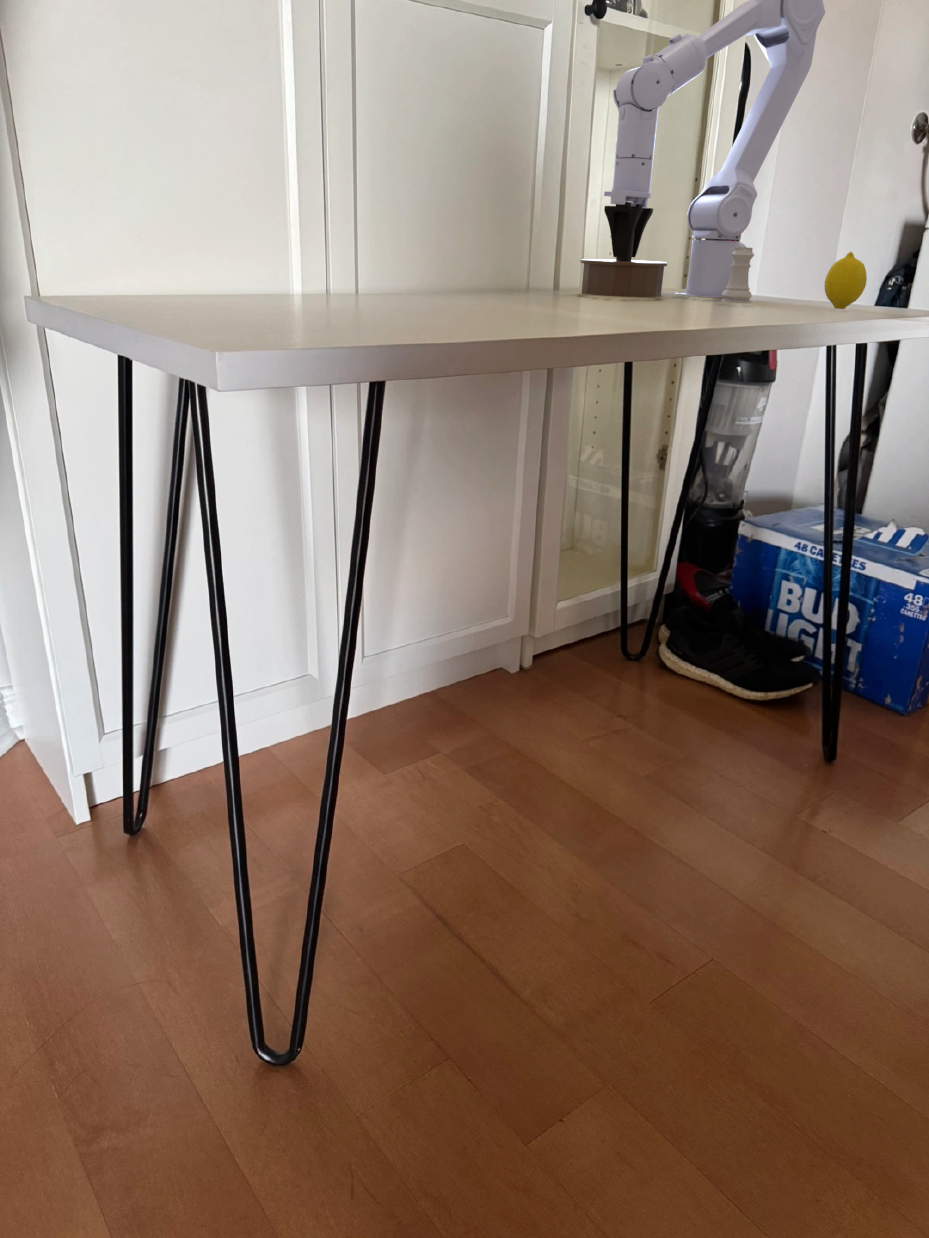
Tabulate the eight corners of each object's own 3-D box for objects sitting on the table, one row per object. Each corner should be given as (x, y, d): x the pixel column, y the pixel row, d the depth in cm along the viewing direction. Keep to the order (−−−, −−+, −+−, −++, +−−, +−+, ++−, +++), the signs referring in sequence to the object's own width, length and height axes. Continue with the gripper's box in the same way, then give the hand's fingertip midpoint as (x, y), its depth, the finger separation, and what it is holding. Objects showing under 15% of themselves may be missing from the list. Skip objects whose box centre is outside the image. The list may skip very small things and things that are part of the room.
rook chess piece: (743, 304, 134) (751, 247, 131) (755, 307, 130) (764, 248, 127) (715, 304, 133) (723, 246, 130) (726, 306, 129) (735, 247, 126)
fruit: (867, 311, 129) (879, 252, 126) (848, 312, 125) (860, 252, 122) (831, 308, 133) (842, 251, 129) (812, 309, 129) (823, 250, 126)
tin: (620, 294, 148) (623, 262, 146) (676, 300, 139) (680, 266, 137) (565, 295, 142) (567, 262, 140) (620, 301, 132) (623, 266, 131)
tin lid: (622, 266, 147) (626, 230, 145) (684, 271, 137) (689, 231, 135) (562, 266, 140) (564, 227, 138) (622, 270, 130) (626, 229, 128)
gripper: (620, 163, 140) (612, 255, 146) (594, 155, 128) (586, 256, 133) (664, 163, 138) (654, 257, 143) (642, 155, 125) (631, 258, 131)
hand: (624, 257), depth 138 cm, fingers open, 4 cm apart
